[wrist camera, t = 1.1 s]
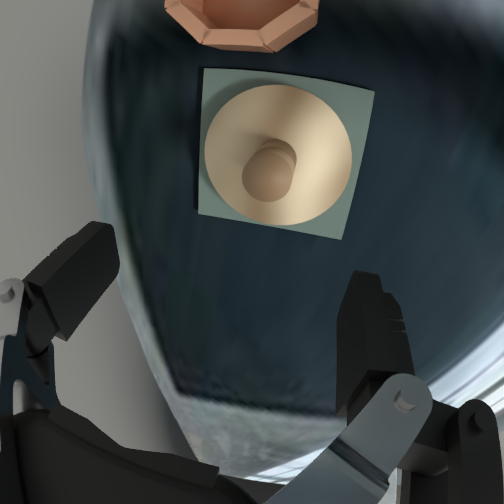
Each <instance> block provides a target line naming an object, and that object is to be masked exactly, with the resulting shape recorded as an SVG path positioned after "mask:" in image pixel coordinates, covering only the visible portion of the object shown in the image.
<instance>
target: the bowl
mask: <svg viewBox="0 0 504 504" xmlns="http://www.w3.org/2000/svg"><path fill="white" fill-rule="evenodd" d="M319 1H320V0H165V6H164V8H167V9H166V10H165V11H167V12H168V13H169V14H170V15H171V16H172V17H173V18H174V19H175V20H176V21H177V22H178V23H179V24H180V25H181V26H183V27H184V28H185V29H186V30H187V31H188V32H189V33H190V34H191V35H192V36H193V37H194V38H195V39H196V40H197V41H198V42H199V43H200V44H203V45H207V46H211V47H215V48H219V49H222V50H236V51H254V52H266V53H273V51H275V52H277V51H279V50H280V49H282V48H283V47H285V46H286V45H287V44H289V43H290V42H292V41H293V40H295V39H296V38H298V37H299V36H301V35H302V34H304V33H305V32H307V31H308V30H310V29H312V28H313V27H315V26H316V24H317V20H318V11H319Z"/></svg>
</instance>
